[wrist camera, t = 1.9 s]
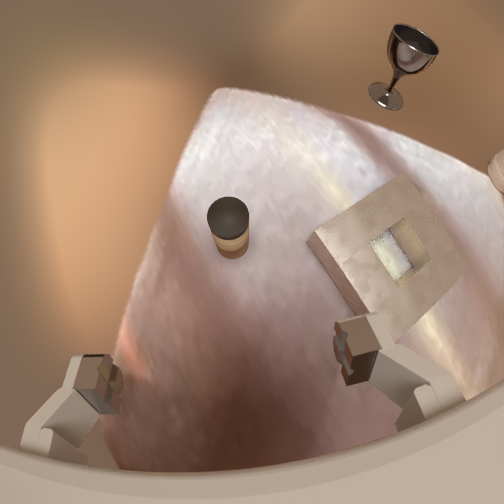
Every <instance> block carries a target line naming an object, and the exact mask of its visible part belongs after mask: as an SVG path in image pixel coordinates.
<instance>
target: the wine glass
mask: <svg viewBox="0 0 504 504" xmlns="http://www.w3.org/2000/svg"><path fill="white" fill-rule="evenodd" d="M438 53H439V48H438V46H437V44H436V43H435V42H434V41H433V40H432V39H431V38H430V37H429V36H428V35H426V34H425V33H424V32H422V31H421V30H419V29H417V28H415V27H413V26H410V25H407V24H395V25H394V27H393V29H392V31H391V33H390V36H389V40H388V44H387V57H388V60H389V62H390V64H391V66H392V68H393V78H392V81H391V84H390V85H387V84H385V83H381V82H375V83H372V84H371V85H370V86H369V94H370V96H371V97H372V99H373V100H374V101H375V102H376V103H377V104H379V105H380V106H382V107H384V108H386V109H389V110H399V109H401V108H402V107H403V99H402V97H401V95H400V94H399V92H398V91H397V90H396V89H394V88H393V87H394V86H395V84H396V83H397V81H398V80H399V79H400V78H402V77H405V76H414V75H418V74H421V73H422V72H424V71H425V70H426V69H427V68H428V67H429V66H430V65H431V64H432V63H433V62H434V60H435V59H436V57H437V55H438Z"/></svg>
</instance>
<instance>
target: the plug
mask: <svg viewBox="0 0 504 504" xmlns="http://www.w3.org/2000/svg"><path fill="white" fill-rule="evenodd" d="M207 221H208V224H209V227H210V229H211V232H212V235H213V238H214V240H215V243H216V246H217V248H218V251H219V252H220V254H221V255H222V256H224V257H226V258H229V259H236V258H239V257H241V256H242V255H244V254H245V252H246V251H247V249H248V239H249V212H248V209H247V207H246V205H245V204H244V203H243V202H242V201H241V200H239V199H237V198H235V197H223V198H220V199H218V200H216V201H215V202H214V203H213V204H212V205H211V206H210V208H209V210H208V213H207Z"/></svg>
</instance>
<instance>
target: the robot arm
mask: <svg viewBox="0 0 504 504" xmlns="http://www.w3.org/2000/svg"><path fill="white" fill-rule="evenodd" d="M334 329H335V331H336V335H335V336H334V338H333V346H334V352H335V356H336V359H337V362H339V363H340V364H342V369H341V373H342V375H343V378H344V381H345V383H346V386H350V385H354V384H358V383H361V382H365V381H369V382H370V383H371V384H372V385H374V386H375V387H376V388H377V389H378V390H380V391H381V392H382V393H384V394H385V395H386V396H387V397H389V398H390V399H391V400H392V401H394V402H395V403H396V404H397V405H399V406H400V407H401V408H402V409H403V411H402V412H401V414H400V415H399V417H398V419H397V420H396V422H395V425H396V428H397V430H398V432H397V433H394V434H391V435H389V436H386V437H383V438H380V439H377V440H374V441H371V442H368V443H365V444H362V445H358V446H355V447H351V448H348V449H344V450H341V451H337V452H333V453H329V454H325V455H321V456H317V457H312V458H308V459H303V460H298V461H293V462H287V463H282V464H276V465H269V466H262V467H255V468H246V469H237V470H225V471H210V472H144V471H130V470H118V469H108V468H101V467H93V466H87V462H88V457H87V455H86V454H84V453H83V452H81V451H80V450H79V449H78V448H79V446H80V445H81V443H82V442H83V440H84V439H85V437H86V436H87V435H88V433H89V431H90V430H91V429H92V427H93V426H94V424H95V423H96V421H97V420H98V419H99V417H100V416H101V415H100V414H119V410H120V404H121V399H120V397H119V394H120V393H121V391H122V390H123V385H124V381H123V375H122V372H121V370H120V369H119V367H117V366H116V365H114V364H112V362H113V359H112V358H111V356H110V355H109V354H89V355H88V354H87V355H86V354H85V355H74V356H73V357H72V359H71V361H70V364H69V367H68V370H67V374H66V377H65V380H64V383H63V386H62V389H58V390H57V391H56V392H55V393H54V394H53V395H52V396H51V398H49V400H48V401H47V402H46V403H45V404H44V405H43V406H42V407H41V408H40V409H39V410H38V411H37V412H36V413H35V414H34V415H33V417H32V418H31V419H30V420H29V421H28V422H27V423H26V426H25V429H24V433H23V436H22V440H21V444H20V449H19V450H17V449H14V448H10V447H7V446H4V445H1V444H0V504H504V379H503V380H502V381H500V382H499V383H497V384H495V385H494V386H492V387H490V388H489V389H487V390H485V391H484V392H482V393H480V394H478V395H477V396H475V397H473V398H471V399H469V400H467V401H466V400H465V398H464V396H463V394H462V392H461V390H460V389H459V387H458V385H457V383H456V381H455V380H454V378H453V376H452V374H451V373H450V372H448V371H447V370H445V369H443V368H441V367H440V366H438V365H436V364H434V363H433V362H431V361H429V360H427V359H426V358H424V357H422V356H420V355H419V354H417V353H415V352H413V351H412V350H410V349H408V348H406V347H405V346H403V345H401V344H397V345H396V343H395V342H394V340H393V338H392V336H391V334H390V333H389V331H388V329H387V327H386V325H385V324H384V322H383V320H382V318H381V317H380V315H379V313H377V312H372V313H368V314H364V315H359V316H355V317H351V318H347V319H343V320H339V321H336V322H335V327H334Z"/></svg>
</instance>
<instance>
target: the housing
mask: <svg viewBox="0 0 504 504" xmlns="http://www.w3.org/2000/svg"><path fill="white" fill-rule="evenodd" d="M387 229H388V230H389V231H390V233H391V234H392V235H393V237H394V238H395V240H396V241H397V243H398V244H399V246H400V247H401V249H402V250H403V252H404V253H405V255H406V257H407V258H408V260H409V261H410V263H411V264H412V266H413V267H412V268H411V269H410V270H408V271H407V272H406V273H405V274H404V275H403V276H402V277H400V278H399V279H398V280H397V281H396V282H394V280H393V279H392V277H391V276H390V274H389V272H388V271H387V269H386V268H385V266H384V265H383V263H382V262H381V260H380V259H379V257H378V256H377V254H376V253H375V251H374V250H373V248H372V247H371V245H370V244H369V243H370V242H371V241H372V240H374V239H375V238H376V237H378V236H379V235H380V234H382V233H383V232H384V231H386V230H387ZM306 243H307V244H308V246H309V247H310V248H311V250H312V251H313V253H314V254H315V256H316V257H317V258H318V260H319V261H320V263H321V264H322V266H323V267H324V269H325V270H326V272H327V273H328V275H329V276H330V277H331V279H332V280H333V282H334V283H335V285H336V286H337V288H338V289H339V291H340V292H341V294H342V295H343V297H344V298H345V300H346V301H347V303H348V304H349V306H350V308H351V309H352V311H353V312H354V314H355V315H356V316H359V315H364V314H368V313H372V312H377V313H379V315H380V317H381V318H382V320H383V322H384V324H385V325H386V327H387V329H388V331H389V333H390V334H391V336H392V338H393V340H394V342H395V341H396V340H397V339H398V338H399V337H401V336H402V335H403V334H404V333H405V332H406V331H407V330H408V329H409V328H411V327H412V326H413V325H414V324H415V323H416V322H417V321H418V320H419V319H420V318H421V317H422V316H423V315H424V314H425V313H426V312H427V311H428V310H429V309H430V308H431V307H432V306H433V305H434V304H435V303H436V302H437V301H438V300H439V299H440V298H441V297H442V296H443V295H444V294H445V293H446V292H447V291H448V290H449V289H450V288H451V287H452V286H453V284H454V283H455V282H456V281H457V280H458V279H459V278H460V277H461V276H462V274H463V273H464V272H465V271H466V270H467V269H468V268H467V266H466V264H465V262H464V261H463V259H462V257H461V255H460V254H459V252H458V250H457V249H456V247H455V245H454V244H453V242H452V240H451V239H450V237H449V236H448V234H447V232H446V231H445V229H444V228H443V226H442V225H441V223H440V221H439V220H438V218H437V217H436V215H435V214H434V212H433V211H432V210H431V208H430V207H429V205H428V204H427V202H426V201H425V200H424V198H423V197H422V195H421V194H420V193H419V191H418V190H417V188H416V187H415V186H414V184H413V183H412V182H411V180H410V179H409V178H408V176H407V175H406V174H405V173H404V172H402V173H401V174H399V175H398V176H397V177H395V178H394V179H392V180H391V181H389V182H388V183H386V184H385V185H383V186H382V187H380V188H379V189H377V190H376V191H374V192H373V193H371V194H370V195H368V196H367V197H365V198H364V199H362V200H361V201H359V202H358V203H356V204H355V205H353V206H351V207H350V208H348V209H347V210H345V211H344V212H342V213H341V214H339V215H338V216H336V217H335V218H333V219H332V220H330V221H329V222H327V223H326V224H324V225H323V226H321V227H320V228H318V229H316V230H315V231H314V232H313V234H312V235H311V237H310V238H309V240H308V241H307V242H306Z"/></svg>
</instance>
